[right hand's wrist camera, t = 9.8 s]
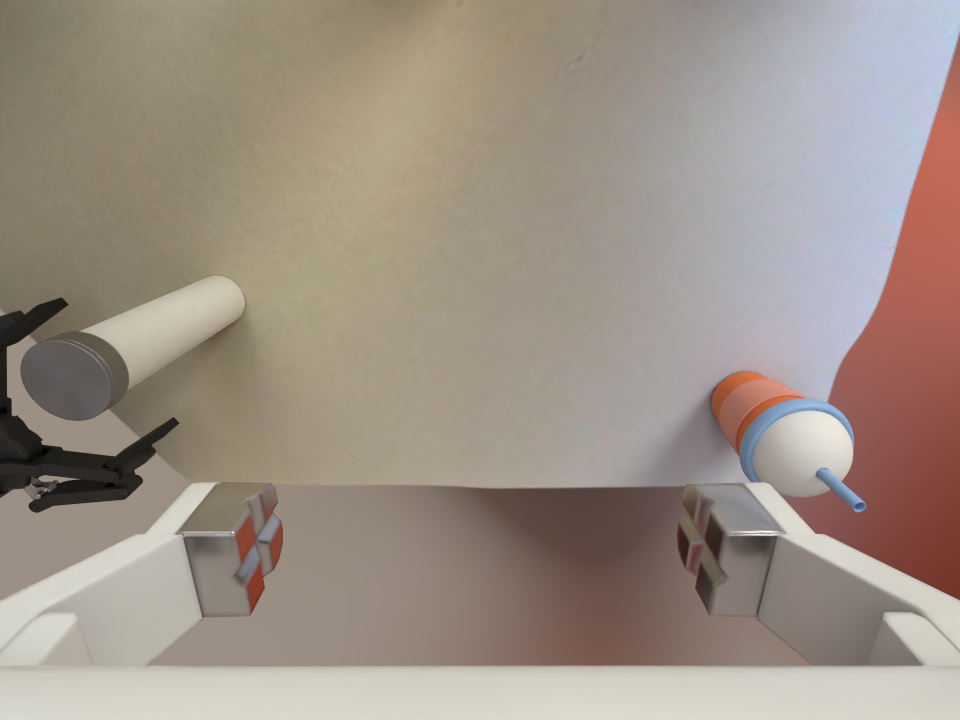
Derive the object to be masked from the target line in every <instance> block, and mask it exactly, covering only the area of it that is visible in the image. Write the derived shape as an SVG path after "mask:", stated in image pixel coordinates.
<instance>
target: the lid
mask: <svg viewBox="0 0 960 720" xmlns="http://www.w3.org/2000/svg"><path fill="white" fill-rule="evenodd" d="M21 378H22V381H23V384H24V387H25V389H26V390H27V392H28V394H29V395H30V396H31V398H32V399H33V400H34V401H35V402H36V403H37V404H38V405H39V406H41V407H42V408H43V409H44V410H46V411H48V412H49V413H51V414H53V415H55V416H57V417H60V418H64V419H67V420H75V421H81V420H88V419H91V418H94V417H96V416H98V415H99V414H101V413H102V412H104V411H105V410H107V409H109V408H110V407H112V406H113V405H115V404H116V403H117V402H119V401H120V400H121V399H122V398H123V397H124V395H125V394H126V392H127V389H128V386H129V373H128V369H127V366H126V363H125V361H124V360H123V358H122V356H121V355H120V354H119V352H118V351H117V350H116V349H115V348H114V347H113V346H112V345H111V344H109V343H108V342H107V341H105V340H104V339H102V338H100V337H98V336H95V335H93V334H90V333H86V332H78V331H72V332H66V333H62V334H59V335H57V336H55V337H52V338H50V339H47V340H45V341H42V342H40V343H38V344H36V345H34V346H32V347H31V348H30V349H29V350H28V351H27V352H26V353H25V355H24V357H23V359H22V362H21Z"/></svg>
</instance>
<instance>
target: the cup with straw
mask: <svg viewBox="0 0 960 720" xmlns="http://www.w3.org/2000/svg"><path fill="white" fill-rule="evenodd" d="M711 408H712V412H713V414H714V416H715V417H716V419H717V421H718V422H719V424H720V427H721V429H722V431H723V433H724V435H725V436H726V438H727V439H728V441H729V442H730V444H731V445H732V447H733V448H734V450H735V451H736V453H737V454H738V456H739V458H740V463H741V467H742V469H743V471H744V473H745V475H746V476H747V478H748V479H749V480H750V481H751V482H765V483H768V484H770V485H771V486H772V487H773V488H774V489H775V490H776V491H777V492H778V494H779V495H780V496H784V497H810V496H815V495H819V494H822V493H825V492H827V491H829V490H832V491H833V492H835V493H836V494H837V495H838V496H839V497H840V498H841V499H842V500H843V501H844V502H845V503H846V504H847V505H848V506H850V507H851V508H852V509H853V510H854V511H855V512H861V511H863V510H864V509H865V508H866V504H865V503H864V502H863V501H862V500H861V499H860V498H859V497H858V496H857V495H855V494H854V493H853V492H852V491H851V490H850V489H849V488H847V487H846V486H845V485H844V484H843V483H842V482H841V481H842V480H843V479H844V477H845V476H846V475H847V473H848V471H849V469H850V467H851V463H852V459H853V446H854V436H853V431H852V428H851V426H850V424H849V422H848V420H847V419H846V417H845V416H844V415H843V414H842V413H841V412H840V411H839V410H838V409H836V408H835V407H834V406H832V405H830V404H828V403H826V402H823V401H820V400H816V399H808V398H807V397H805V396H803V395H801V394H799V393H797V392H796V391H794V390H792V389H790V388H788V387H786V386H784V385H783V384H781V383H779V382H776V381H773V380H769V379H767V378H766V377H764V376H762V375H760V374H757V373H754V372H739V373H735V374H733V375H730V376H729V377H727V378H725V379H724V380H723V381H722V382H721V383H720V384H719V385H718V386H717V387H716V389H715V390H714V392H713V395H712V399H711Z"/></svg>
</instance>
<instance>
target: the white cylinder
mask: <svg viewBox="0 0 960 720" xmlns="http://www.w3.org/2000/svg"><path fill="white" fill-rule="evenodd" d="M244 308H245V299H244V295H243V293H242V291H241V289H240V288H239V287H238V285H237V284H235V283H234V282H233V281H232V280H230V279H228V278H226V277H222V276H210V277H207V278H204V279H202V280H200V281H197V282H195V283H193V284H190V285H188V286H185V287H183V288H181V289H178V290H176V291H174V292H171V293H169V294H167V295H164V296H162V297H159V298H157V299H155V300H152V301H150V302H148V303H145V304H143V305H140V306H138V307H136V308H133V309H131V310H129V311H126V312H124V313H122V314H119V315H117V316H114V317H112V318H110V319H107V320H105V321H103V322H100V323H98V324H95V325H93V326H91V327H88V328H86V329H84V330H81V331H79V332H86V333H90V334H93V335H95V336H98V337H100V338H102V339H104V340H105V341H107V342H108V343H109V344H111V345H112V346H113V347H114V348H115V349H116V350H117V351H118V352H119V354H120V355H121V356H122V358H123V360H124V361H125V363H126V366H127V369H128V373H129V386H128V389H127V391H128V390H129V389H131V388H132V387H134V386H136V385H137V384H139V383H140V382H142V381H143V380H145V379H146V378H148V377H149V376H151V375H152V374H154V373H156V372H157V371H159V370H160V369H162V368H163V367H165V366H166V365H168V364H169V363H171V362H173V361H174V360H176V359H177V358H179V357H180V356H182V355H183V354H185V353H186V352H188V351H189V350H191V349H193V348H194V347H196V346H197V345H199V344H200V343H202V342H203V341H205V340H206V339H208V338H210V337H211V336H213V335H214V334H216V333H217V332H219V331H220V330H222V329H223V328H225V327H227V326H228V325H230V324H231V323H233V322H234V321H236V320H237V319H239V318H240V316H241V315H242V314H243V312H244Z"/></svg>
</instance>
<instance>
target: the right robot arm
mask: <svg viewBox="0 0 960 720" xmlns="http://www.w3.org/2000/svg"><path fill="white" fill-rule="evenodd" d="M277 503H278V499H277V494H276V489H275V487H274V486H273V485H272V484H271V483H231V482H222V483H219V482H196V483H193V484H190V485H189V486H188V487H187V488H186V489H185V490H184V491H183V492H182V494H181V495H180V496H179V497H178V498H177V499H176V500H175V501H174V502H173V503H172V504H171V506H170V507H169V508H168V509H167V510H166V511H165V512H164V513H163V514H162V515H161V517H160V518H159V519H158V520H157V521H156V522H155V523H154V524H153V525H152V526H151V527H150V529H149V530H148V531H147V532H146V533H145V534H136V535H133V536H131V537H129V538H127V539H125V540H123V541H121V542H119V543H117V544H115V545H113V546H111V547H109V548H107V549H105V550H103V551H101V552H99V553H97V554H95V555H92V556H90V557H88V558H86V559H84V560H82V561H80V562H78V563H76V564H74V565H72V566H70V567H68V568H66V569H64V570H62V571H60V572H58V573H56V574H54V575H51V576H49V577H47V578H45V579H43V580H41V581H39V582H37V583H35V584H33V585H31V586H29V587H27V588H25V589H23V590H21V591H19V592H17V593H15V594H13V595H10V596H8V597H6V598H4V599H2V600H0V720H960V601H959V600H957V599H955V598H953V597H951V596H949V595H947V594H945V593H943V592H941V591H939V590H937V589H935V588H933V587H931V586H929V585H927V584H925V583H923V582H921V581H918V580H916V579H914V578H912V577H910V576H908V575H906V574H904V573H902V572H900V571H898V570H896V569H894V568H892V567H890V566H888V565H886V564H884V563H882V562H880V561H878V560H876V559H874V558H871V557H869V556H867V555H865V554H863V553H861V552H859V551H857V550H855V549H853V548H851V547H849V546H847V545H845V544H843V543H841V542H839V541H837V540H835V539H833V538H831V537H829V536H827V535H825V534H815V533H814V532H813V531H812V530H811V529H810V528H809V526H808V525H807V524H806V523H805V522H804V521H803V520H802V519H801V518H800V517H799V515H798V514H797V513H796V512H795V511H794V510H793V509H792V508H791V507H790V506H789V504H788V503H787V502H786V501H785V500H784V499H783V498H782V497H781V496H780V495H779V494H778V492H777V491H776V490H775V489H774V488H773V487H772V486H771V485H770V484H768V483H765V482H744V483H717V484H687V485H686V488H685V490H684V493H683V499H682V503H683V505H684V506H685V508H686V510H687V513H686V514H685V515H684V516H683V517H682V518H681V519H680V520H679V524H678V532H677V540H678V550H679V553H680V557H681V560H682V562H683V564H684V566H685V568H686V570H687V571H688V572H690V573H691V574H693V575H694V576H696V577H697V581H696V587H695V588H696V590H697V592H698V594H699V596H700V598H701V600H702V602H703V604H704V606H705V608H706V610H707V611H708V613H709V615H710V616H727V617H758V618H757V620H758V621H760V622H761V623H762V624H763V625H764V626H766V627H767V628H768V629H769V630H770V631H772V632H773V633H774V634H775V635H776V636H778V637H779V638H780V639H781V640H782V641H784V642H785V643H786V644H787V645H788V646H790V647H791V648H792V649H793V650H794V651H796V652H797V653H798V654H799V655H800V656H802V657H803V658H804V659H805V660H807V661H808V662H809V663H810V664H811V665H813V666H148V665H149V664H150V663H151V662H152V661H154V660H155V659H156V658H157V657H158V656H160V655H161V654H162V653H163V652H164V651H166V650H167V649H168V648H169V647H171V646H172V645H173V644H174V643H175V642H177V641H178V640H179V639H180V638H181V637H183V636H184V635H185V634H186V633H187V632H189V631H190V630H191V629H192V628H194V627H195V626H196V625H197V624H198V623H200V622H201V621H202V620H203V618H202V617H232V616H250V615H251V613H252V612H253V610H254V608H255V606H256V604H257V602H258V600H259V598H260V596H261V594H262V592H263V590H264V588H265V587H264V581H263V577H264V576H266V575H267V574H269V573H270V572H272V571H273V570H274V568H275V566H276V564H277V562H278V560H279V557H280V553H281V548H282V544H283V530H282V523H281V520H280V519H279V518H278V517H277V516H276V515H275V514H274V513H273V510H274V508H275V506H276V505H277Z"/></svg>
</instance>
